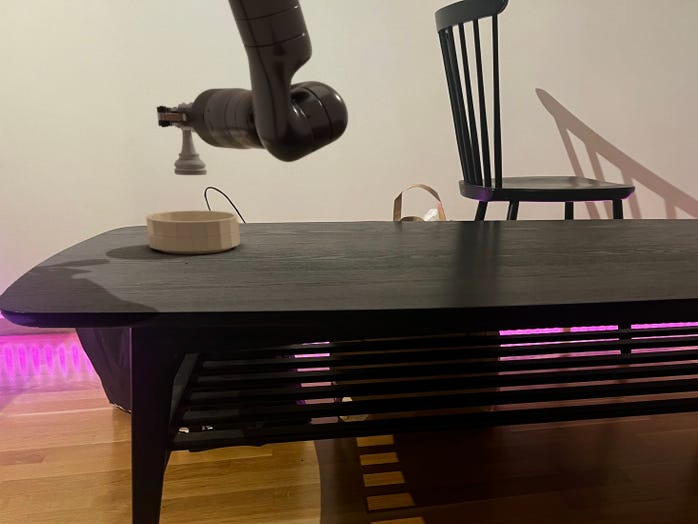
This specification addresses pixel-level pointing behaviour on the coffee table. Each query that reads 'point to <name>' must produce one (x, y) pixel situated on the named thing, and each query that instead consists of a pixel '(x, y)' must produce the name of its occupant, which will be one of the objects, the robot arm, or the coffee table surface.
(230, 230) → the bowl
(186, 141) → the chess piece
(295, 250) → the coffee table surface
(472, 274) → the coffee table surface
